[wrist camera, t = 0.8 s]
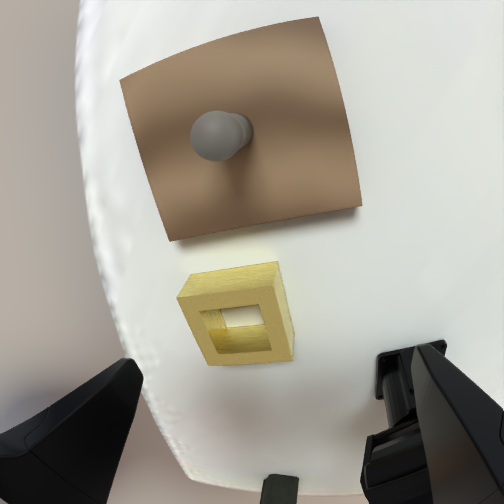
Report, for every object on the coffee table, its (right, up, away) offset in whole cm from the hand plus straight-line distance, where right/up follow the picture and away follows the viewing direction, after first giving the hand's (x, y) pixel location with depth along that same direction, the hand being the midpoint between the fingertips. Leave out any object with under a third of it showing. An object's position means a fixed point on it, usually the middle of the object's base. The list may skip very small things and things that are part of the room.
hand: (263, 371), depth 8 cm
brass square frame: (-1, 0, +14) cm, 14 cm away
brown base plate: (-1, +11, +8) cm, 13 cm away
